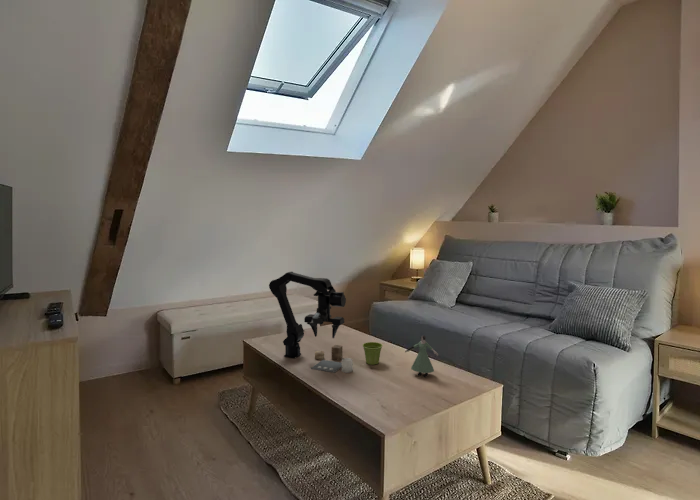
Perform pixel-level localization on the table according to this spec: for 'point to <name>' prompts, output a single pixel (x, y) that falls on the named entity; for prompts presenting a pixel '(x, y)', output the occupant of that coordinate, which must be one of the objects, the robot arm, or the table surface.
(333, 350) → the walnut block
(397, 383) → the table surface
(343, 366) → the white rounded block
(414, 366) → the character figurine
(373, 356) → the plant pot
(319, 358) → the beige round knob
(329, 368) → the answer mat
